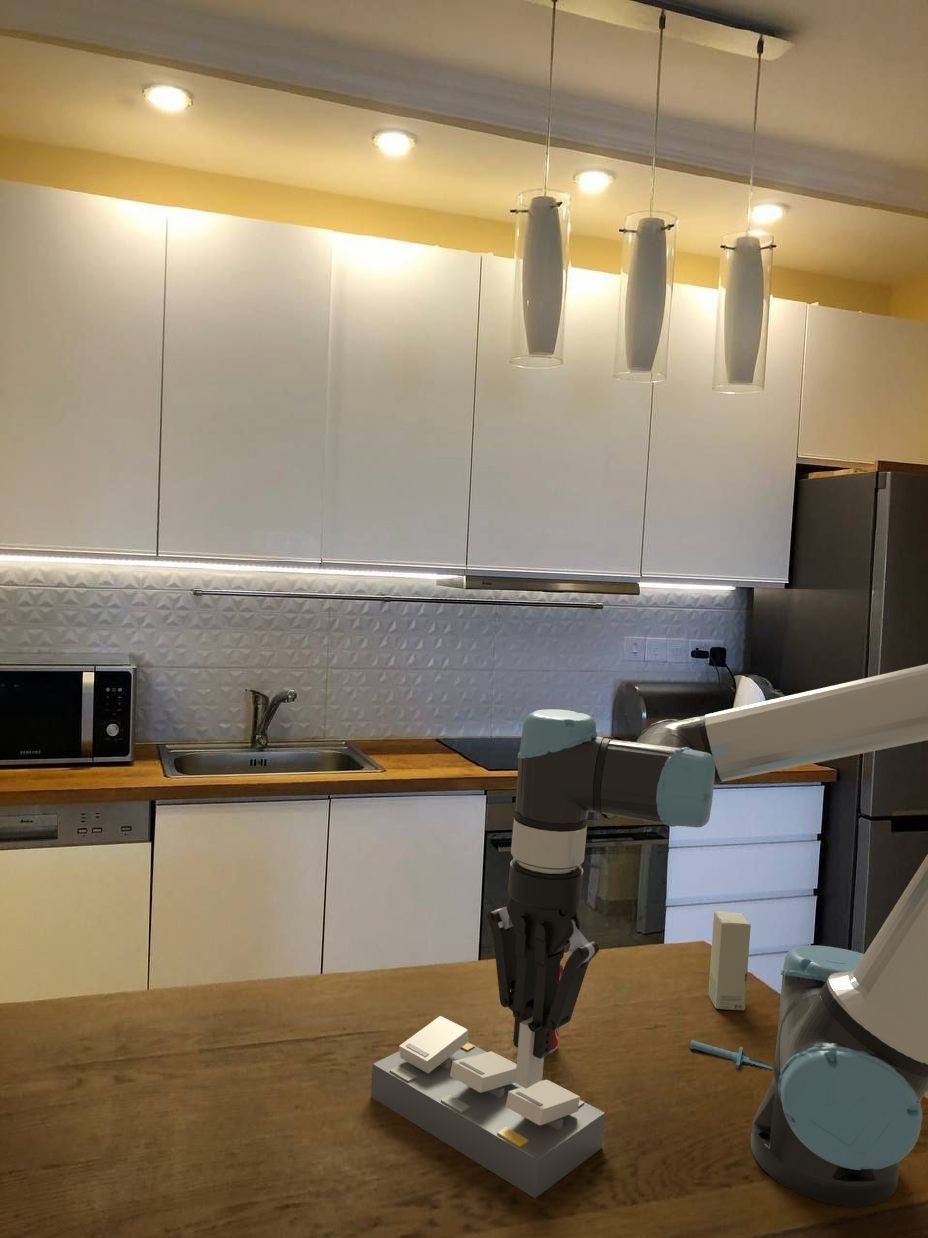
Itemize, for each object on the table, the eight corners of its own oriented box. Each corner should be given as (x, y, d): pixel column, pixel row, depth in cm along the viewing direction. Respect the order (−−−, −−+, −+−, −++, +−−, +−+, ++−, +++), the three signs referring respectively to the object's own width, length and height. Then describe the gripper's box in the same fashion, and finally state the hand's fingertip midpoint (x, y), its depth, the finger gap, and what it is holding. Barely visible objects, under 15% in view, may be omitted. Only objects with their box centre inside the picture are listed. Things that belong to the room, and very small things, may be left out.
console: (602, 1148, 106) (605, 1105, 106) (535, 1198, 97) (538, 1152, 97) (441, 1060, 122) (443, 1023, 122) (370, 1097, 113) (373, 1057, 113)
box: (745, 1012, 140) (753, 925, 139) (714, 1010, 140) (722, 923, 139) (735, 995, 146) (743, 911, 145) (706, 993, 146) (713, 909, 145)
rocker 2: (519, 1081, 110) (522, 1066, 110) (480, 1093, 105) (483, 1077, 105) (488, 1065, 113) (491, 1050, 113) (449, 1076, 108) (452, 1060, 108)
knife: (828, 1070, 125) (828, 1090, 121) (827, 1079, 125) (827, 1099, 121) (693, 1032, 131) (688, 1049, 127) (692, 1040, 131) (687, 1058, 127)
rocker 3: (577, 1111, 105) (580, 1096, 105) (539, 1125, 100) (542, 1109, 100) (544, 1094, 108) (546, 1079, 108) (505, 1107, 103) (508, 1090, 103)
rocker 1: (468, 1041, 116) (467, 1029, 115) (428, 1073, 111) (427, 1060, 110) (441, 1027, 119) (440, 1015, 118) (400, 1058, 114) (399, 1045, 113)
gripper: (621, 871, 99) (600, 1094, 100) (520, 838, 107) (503, 1044, 109) (578, 887, 93) (557, 1123, 95) (475, 851, 102) (458, 1068, 103)
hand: (528, 1081), depth 102 cm, fingers closed
